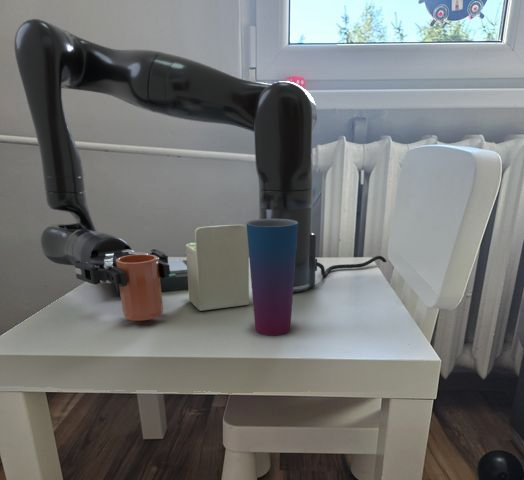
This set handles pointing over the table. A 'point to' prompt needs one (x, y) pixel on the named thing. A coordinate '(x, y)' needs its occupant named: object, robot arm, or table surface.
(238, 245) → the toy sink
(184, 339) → the table surface
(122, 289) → the tumbler
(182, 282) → the scale
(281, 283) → the cup
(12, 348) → the table surface
